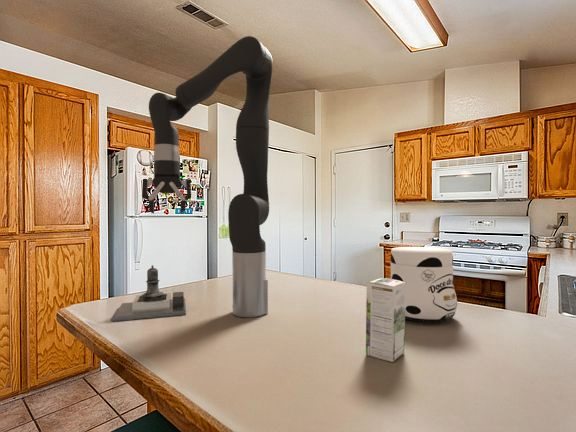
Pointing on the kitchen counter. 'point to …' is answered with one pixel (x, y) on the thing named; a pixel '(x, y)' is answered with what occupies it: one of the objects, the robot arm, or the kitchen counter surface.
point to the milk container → (425, 282)
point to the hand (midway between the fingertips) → (167, 213)
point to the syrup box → (385, 319)
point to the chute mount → (152, 307)
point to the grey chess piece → (152, 286)
